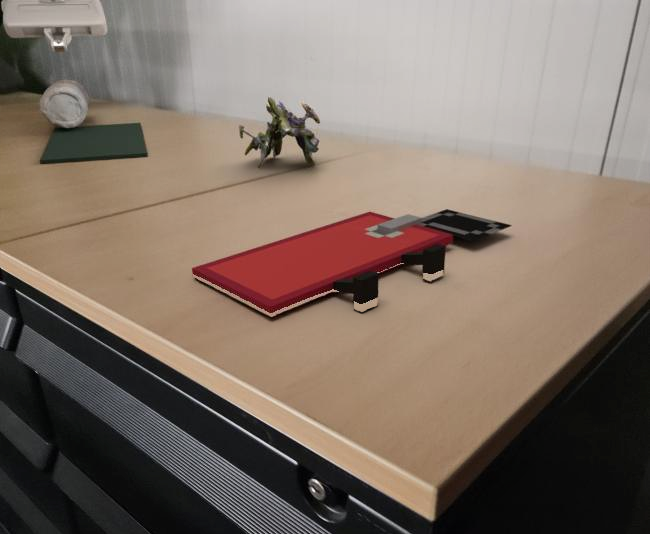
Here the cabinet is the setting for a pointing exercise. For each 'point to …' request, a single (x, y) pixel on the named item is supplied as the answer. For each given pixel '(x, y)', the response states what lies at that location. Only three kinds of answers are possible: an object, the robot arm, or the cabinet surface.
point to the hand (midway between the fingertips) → (59, 49)
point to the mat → (95, 143)
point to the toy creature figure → (284, 132)
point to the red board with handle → (342, 257)
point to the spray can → (65, 103)
